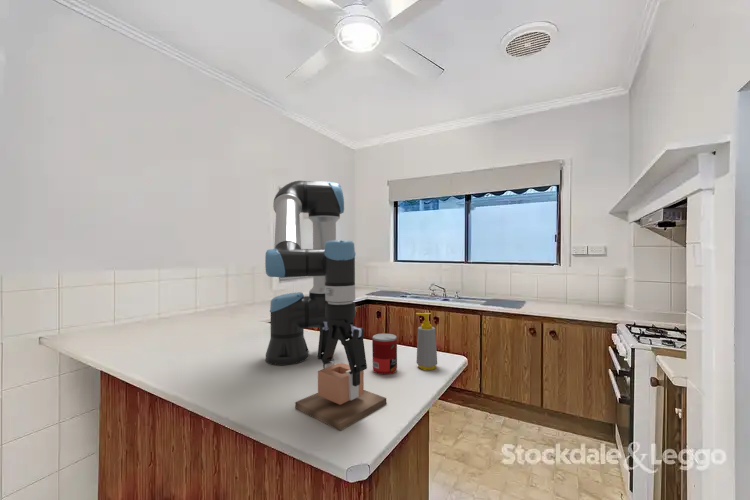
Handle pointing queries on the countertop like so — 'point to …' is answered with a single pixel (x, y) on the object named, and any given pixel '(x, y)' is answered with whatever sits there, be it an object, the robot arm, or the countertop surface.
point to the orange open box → (337, 383)
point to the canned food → (384, 353)
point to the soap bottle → (426, 345)
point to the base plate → (340, 408)
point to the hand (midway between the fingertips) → (341, 393)
